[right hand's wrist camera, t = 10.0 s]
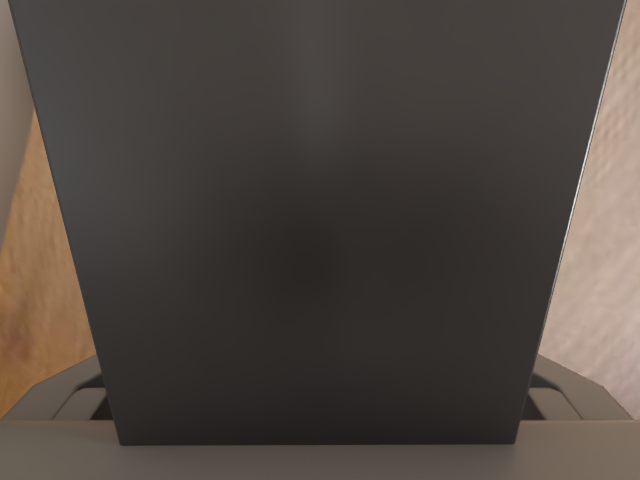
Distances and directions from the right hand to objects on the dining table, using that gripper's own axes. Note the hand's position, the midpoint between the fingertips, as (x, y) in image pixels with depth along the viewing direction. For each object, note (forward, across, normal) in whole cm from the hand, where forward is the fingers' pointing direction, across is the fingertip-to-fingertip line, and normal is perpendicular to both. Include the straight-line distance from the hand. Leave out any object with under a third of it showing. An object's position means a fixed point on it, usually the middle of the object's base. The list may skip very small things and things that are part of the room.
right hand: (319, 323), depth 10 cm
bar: (+4, 0, +8) cm, 9 cm away
